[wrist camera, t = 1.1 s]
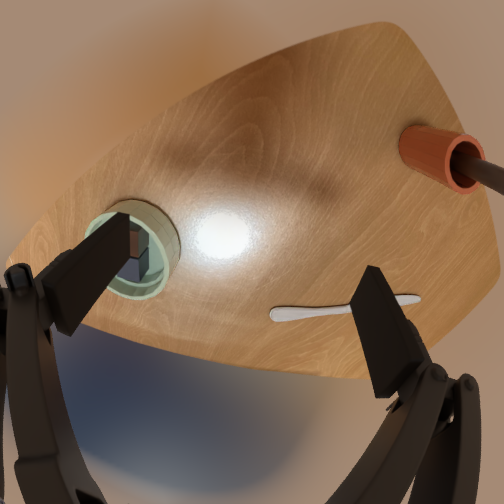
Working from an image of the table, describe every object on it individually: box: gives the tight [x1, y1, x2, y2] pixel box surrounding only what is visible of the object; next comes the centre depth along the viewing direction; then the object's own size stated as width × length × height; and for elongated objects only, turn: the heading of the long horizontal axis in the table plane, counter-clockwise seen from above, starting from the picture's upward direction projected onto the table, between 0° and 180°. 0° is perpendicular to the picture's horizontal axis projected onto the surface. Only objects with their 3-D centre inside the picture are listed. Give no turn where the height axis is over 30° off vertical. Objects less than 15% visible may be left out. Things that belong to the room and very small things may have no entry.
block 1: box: [130, 220, 149, 258], centre depth 32 cm, size 4×4×4 cm
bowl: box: [85, 200, 180, 300], centre depth 33 cm, size 12×12×5 cm
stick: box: [450, 150, 504, 195], centre depth 16 cm, size 2×2×22 cm
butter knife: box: [270, 295, 421, 322], centre depth 37 cm, size 1×24×3 cm
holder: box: [399, 125, 485, 195], centre depth 22 cm, size 6×6×10 cm
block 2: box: [117, 247, 149, 283], centre depth 34 cm, size 4×4×4 cm
